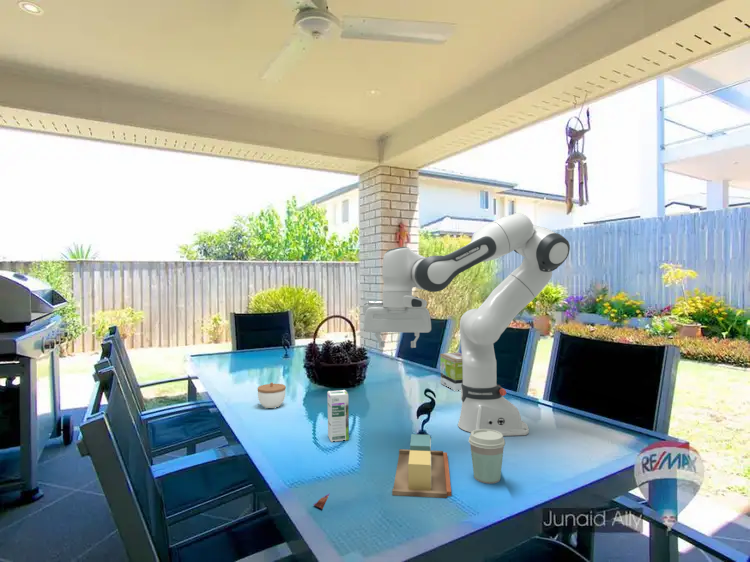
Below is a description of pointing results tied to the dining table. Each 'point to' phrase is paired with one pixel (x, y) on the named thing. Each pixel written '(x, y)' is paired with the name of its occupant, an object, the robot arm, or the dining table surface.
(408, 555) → the dining table surface
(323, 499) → the snack package
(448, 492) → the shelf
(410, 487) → the ochre box
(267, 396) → the lidded jar
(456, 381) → the tea box
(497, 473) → the coffee cup
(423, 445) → the teal box
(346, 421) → the syrup box
